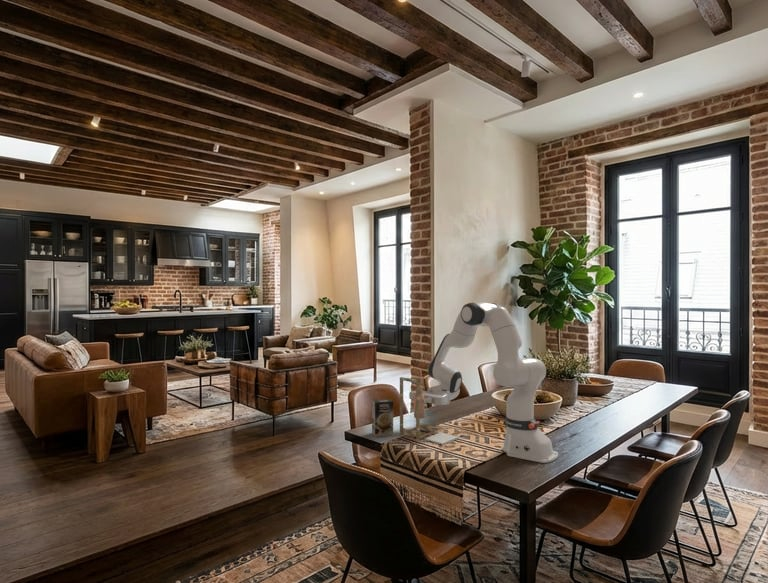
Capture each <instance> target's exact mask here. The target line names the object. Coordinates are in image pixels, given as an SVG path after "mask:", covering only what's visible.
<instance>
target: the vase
mask: <svg viewBox="0 0 768 583" xmlns="http://www.w3.org/2000/svg"><path fill="white" fill-rule="evenodd" d="M422 391H423V389H422V387H421V386H420V419H424V418H426V416H425V415H426V414H425V409H426V408H425V403H422V399H424V393H422ZM413 418H415V419H416V393H414V401H413Z"/></svg>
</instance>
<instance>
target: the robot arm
mask: <svg viewBox="0 0 768 583" xmlns="http://www.w3.org/2000/svg"><path fill="white" fill-rule="evenodd" d="M478 327H488V328H489V330H490V333H491V337H492V339H493V341H494V345H495V347H496V348H495V349H496V351H497V361H496V364H495V365H494V367H493V371H492V374H493V376H492V377H493V378H494V380H495V382H496V383H497V384H498V385H499V386H502V387H509V388H511V387H512V388H513V389H512V391H511V393H509V395H508V396H507V398H506V416H505V422H504V423H505V424H504V425H505V426H504V427H505V436H504V443H503V445H502V451H503V452H505V453H506V456H508V457H511V458H512V457H513V458H517V459H522V460H527V461H533V462H538V463H541V464H546V463H551V462H553V461H555V460H556V459H558V458H559V452H558V451H555V450H553V444H552V440H551V439H550V438H549V437H548V436H547V435H546V434H545V433H544V432H543V431H541V429H539V427H538V425H540V420H536V419H535V418H534V408H535V407H534V406H535V405H534V404H535V398H536V394H537V391H538V388H539V387H540V385H541V383H542V381H543V380H544V379H545V378H546V375H547V368H546V364H545V363H544V362H543V361H542V360H541V359H538V358H532V357H527V358H520V356H519V350H520V348H521V347H522V344H523V341H522V338H521V336H520V334H519V331H518V328H517V326H516V324H515V321H514V319H513V318H512V316H511V314H510V312H509V311H508V309H507V308H506V307H503V306H501V305H500V304H498V303H494V302H492V303H490V302H484V301H481V302H478V301H477V302H468V303H466V304H464V305H463V306H462V308H461V310H460V312H459V313H458V315H457V317H456V319H455V322H454V325H453V328H452V330H451V332H449V333H446V335H444V336H443V338H442V340H441V342H440V344H439V347H438V349H437V351H436V353H435V355H434V357H433V359H432V361H431V362H430V363H429V364H428V367H427V372H428V373H427V374H428V376H429V377H430V378H432V379H434V380H436V381H437V382H439V383H440V384H437V385H434V386H430V387H429V388H428V389H427V390H422V393H424V399H422V403H424V404H426V403H428V404H431V405H435V406H436V405H438V406H444V405H445V406H446V405H450V404H451V401H452V400H454V399H456V398H457V397H458V396H459V394H460V392H461V391H460V390H461V389H460V388H461V387H462V384H463V375H462V373H461V371H459V370H458V369H456V368H454V367H452V366H451V365H449V364H447V363H446V362H445V359H446V357H447V356H448V353H449V350H450V349H451V348H457V349H458V348H459V349H463V348H467V347H470V346H471V345H472V344H473V342H474V339H475V337H476V333H477V330H478ZM414 393H416V390H411V391H409V394H408V395H409V396H408V398H409V399H410V400H411V401H413V402H414Z"/></svg>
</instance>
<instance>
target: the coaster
mask: <svg viewBox="0 0 768 583" xmlns="http://www.w3.org/2000/svg"><path fill="white" fill-rule="evenodd" d="M458 439H459V437H458V436H455V435H452V434H450V433H445V432H438V433H434V434H432V435H429V436H426V437H424V441H426V440H427V442H430V441H431V443H433V442H434V444H437V443H438V444H437V445H440V444H441V445H440V446H444V444H445V445H447V444H449V443H451V442H454V441H457V440H458Z"/></svg>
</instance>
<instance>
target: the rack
mask: <svg viewBox="0 0 768 583" xmlns="http://www.w3.org/2000/svg"><path fill="white" fill-rule="evenodd" d="M404 382H410V383H415V391H416V418H415V427H412V428H404ZM420 383H421V381H420V379H416V378H409V377H404V376H399V435H400V436H401V435H405V436H409V437H411V438H412V437H413V438H415V437H416V438H415V439H416V440H420V438H421V439H422V438H427V437H429V436H432V435H435V434H437V427H435V426H431V425H429V424H424V423H421V422H420V421H421V418H420V387H421V384H420ZM420 430H422V431H424V432H425V431H426V432H427V433H424V434H422V432H421V431H420Z"/></svg>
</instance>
